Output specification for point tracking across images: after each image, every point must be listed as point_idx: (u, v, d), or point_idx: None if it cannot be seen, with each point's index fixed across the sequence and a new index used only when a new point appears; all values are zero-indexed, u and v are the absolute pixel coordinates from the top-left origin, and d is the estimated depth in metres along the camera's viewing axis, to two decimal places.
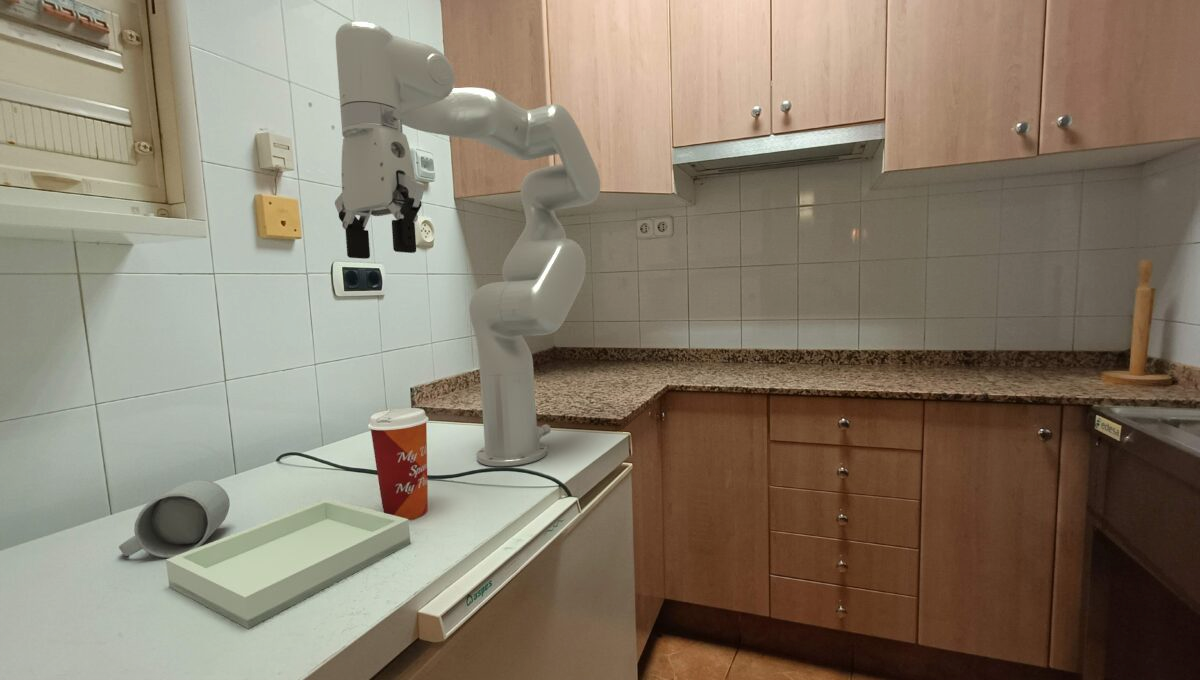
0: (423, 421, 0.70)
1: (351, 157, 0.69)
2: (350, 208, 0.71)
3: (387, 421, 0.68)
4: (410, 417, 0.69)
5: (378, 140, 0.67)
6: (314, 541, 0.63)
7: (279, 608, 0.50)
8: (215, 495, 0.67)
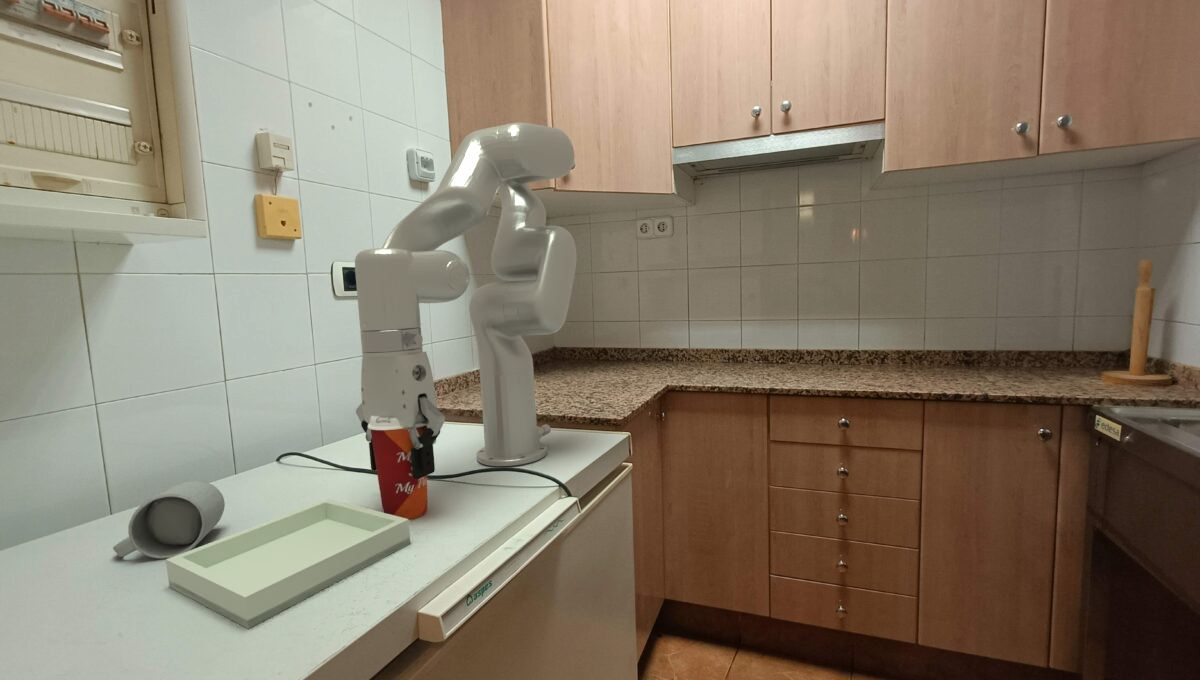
0: None
1: (372, 377, 0.69)
2: None
3: (387, 421, 0.68)
4: None
5: (399, 368, 0.67)
6: (314, 541, 0.63)
7: (279, 608, 0.50)
8: (210, 495, 0.66)
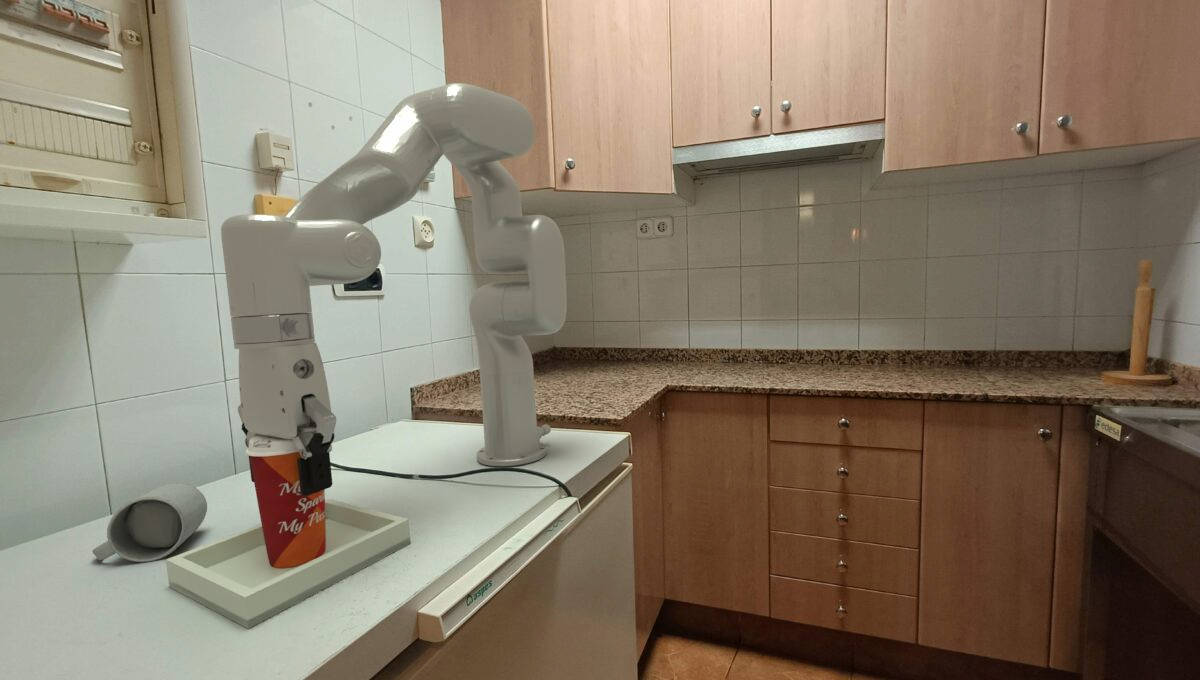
0: None
1: (248, 374, 0.56)
2: (251, 430, 0.58)
3: (266, 445, 0.55)
4: None
5: (277, 363, 0.54)
6: None
7: (279, 608, 0.50)
8: (191, 498, 0.66)
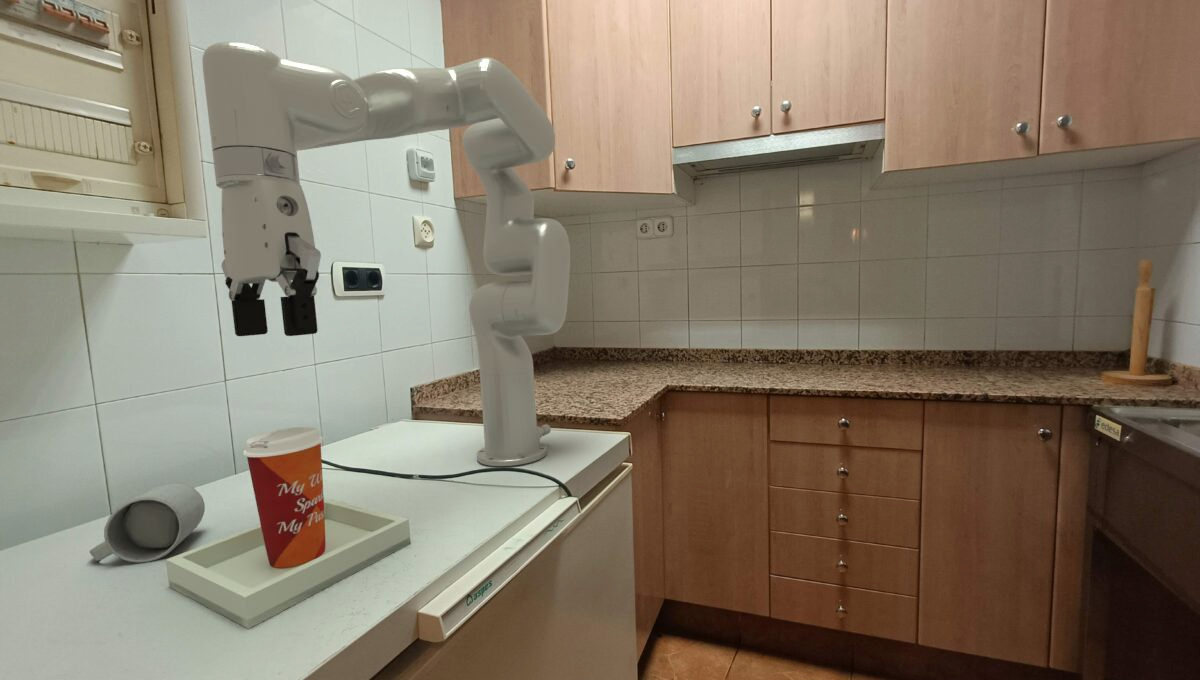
0: (313, 444, 0.57)
1: (230, 214, 0.55)
2: (234, 277, 0.57)
3: (263, 446, 0.55)
4: (293, 440, 0.56)
5: (259, 195, 0.52)
6: None
7: (279, 608, 0.50)
8: (188, 498, 0.66)
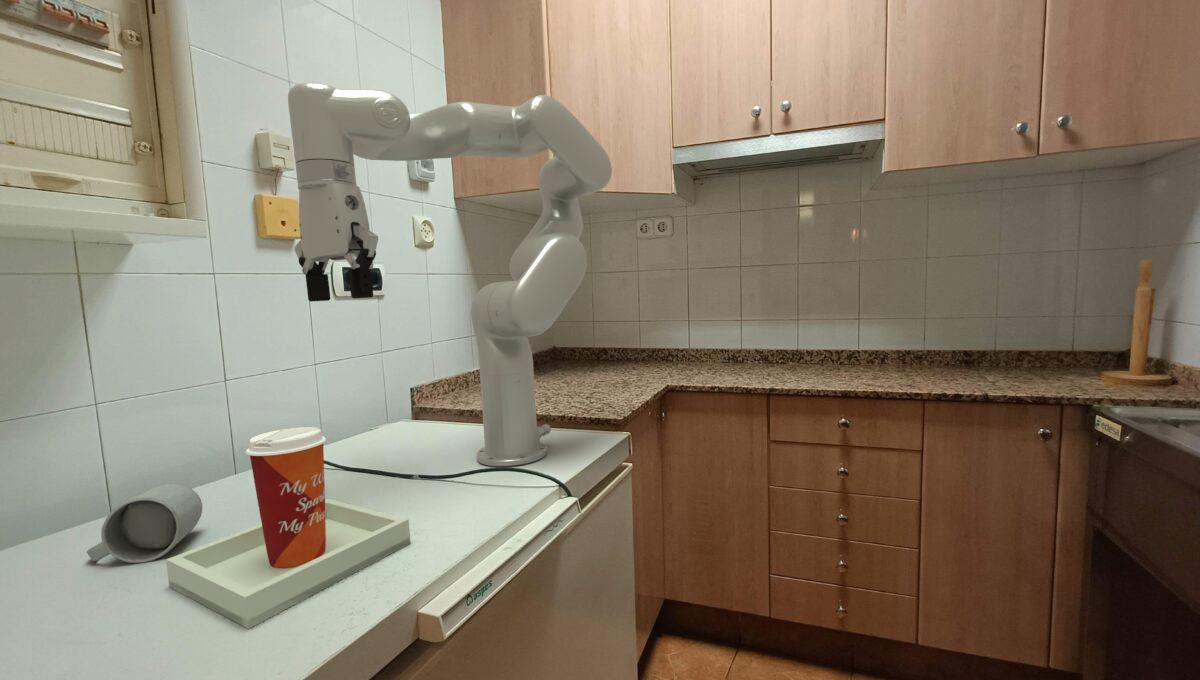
0: (315, 444, 0.58)
1: (308, 209, 0.74)
2: (309, 256, 0.76)
3: (267, 444, 0.55)
4: (297, 439, 0.56)
5: (332, 195, 0.72)
6: None
7: (279, 608, 0.50)
8: (186, 499, 0.66)
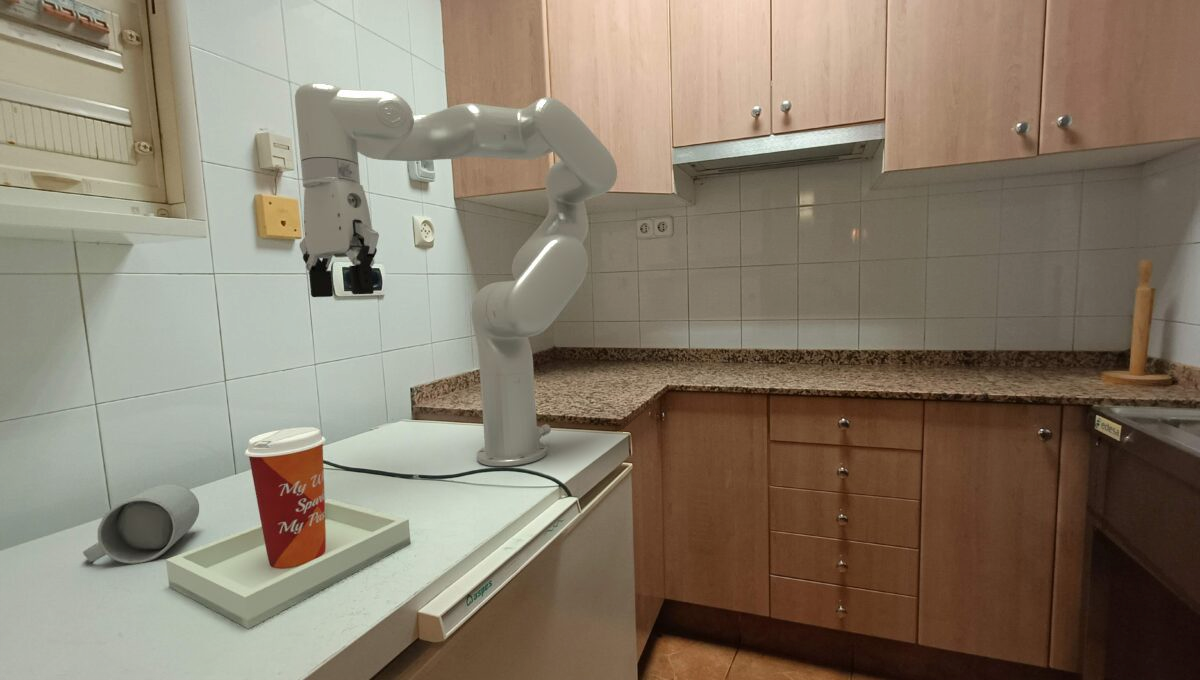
0: (315, 444, 0.57)
1: (312, 206, 0.75)
2: (312, 252, 0.77)
3: (266, 446, 0.55)
4: (296, 440, 0.56)
5: (335, 193, 0.73)
6: None
7: (279, 608, 0.50)
8: (183, 499, 0.66)
